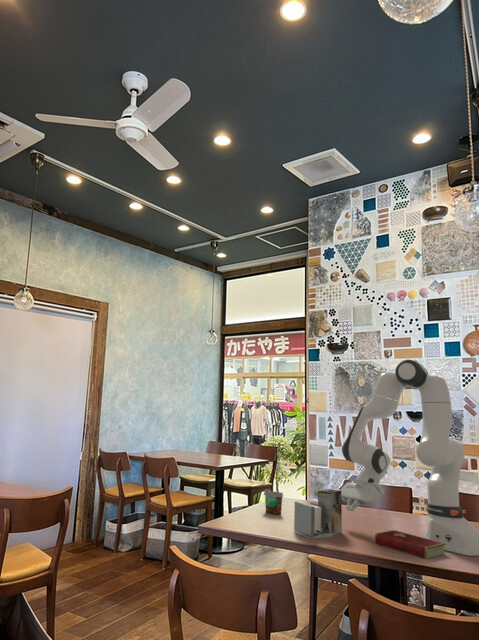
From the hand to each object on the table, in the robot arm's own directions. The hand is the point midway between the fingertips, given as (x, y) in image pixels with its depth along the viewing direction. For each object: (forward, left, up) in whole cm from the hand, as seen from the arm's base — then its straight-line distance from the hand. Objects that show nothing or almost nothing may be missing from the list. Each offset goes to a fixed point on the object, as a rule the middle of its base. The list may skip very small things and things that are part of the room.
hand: (349, 509), depth 187 cm
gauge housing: (+1, +18, -8) cm, 20 cm away
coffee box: (+1, +9, -9) cm, 13 cm away
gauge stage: (0, +17, -7) cm, 19 cm away
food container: (+41, +12, -9) cm, 44 cm away
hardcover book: (-27, -4, -9) cm, 29 cm away
